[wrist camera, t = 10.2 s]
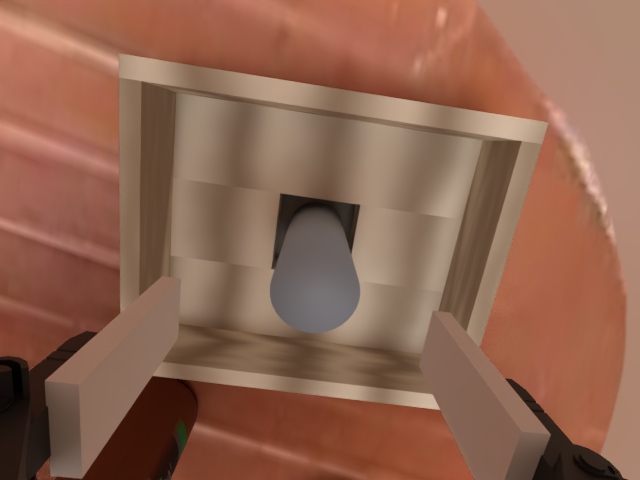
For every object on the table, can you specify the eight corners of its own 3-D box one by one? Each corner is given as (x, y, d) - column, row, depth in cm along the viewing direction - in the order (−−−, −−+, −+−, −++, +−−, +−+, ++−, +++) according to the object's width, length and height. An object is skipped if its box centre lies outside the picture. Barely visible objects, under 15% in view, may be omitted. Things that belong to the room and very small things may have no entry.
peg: (286, 249, 30) (265, 327, 18) (292, 198, 29) (275, 243, 17) (337, 256, 30) (352, 337, 18) (346, 206, 29) (367, 256, 17)
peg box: (167, 316, 32) (120, 372, 24) (175, 78, 27) (118, 53, 19) (426, 348, 33) (459, 412, 26) (484, 127, 28) (548, 122, 20)
